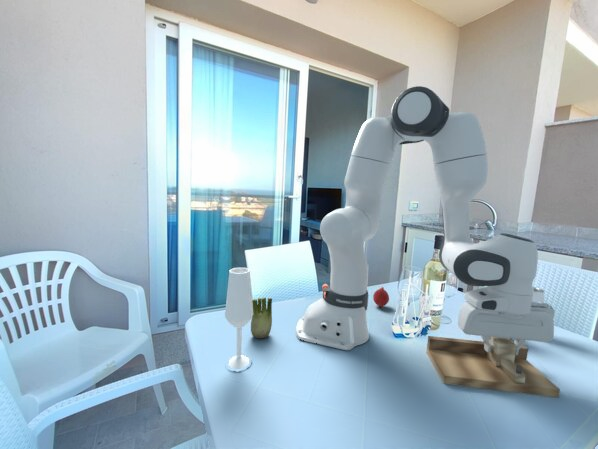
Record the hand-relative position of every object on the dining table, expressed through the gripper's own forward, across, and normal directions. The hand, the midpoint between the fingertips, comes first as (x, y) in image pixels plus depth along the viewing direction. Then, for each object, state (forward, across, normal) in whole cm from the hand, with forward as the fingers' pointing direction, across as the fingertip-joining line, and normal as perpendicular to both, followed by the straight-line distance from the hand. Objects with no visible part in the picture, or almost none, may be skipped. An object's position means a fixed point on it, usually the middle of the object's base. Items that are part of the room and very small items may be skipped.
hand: (500, 352), depth 67 cm
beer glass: (+5, -20, -22) cm, 30 cm away
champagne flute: (+5, +65, +10) cm, 66 cm away
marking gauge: (+3, 0, +3) cm, 4 cm away
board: (+5, +4, +2) cm, 6 cm away
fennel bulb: (+5, +63, -3) cm, 63 cm away
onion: (+5, +24, -32) cm, 40 cm away
